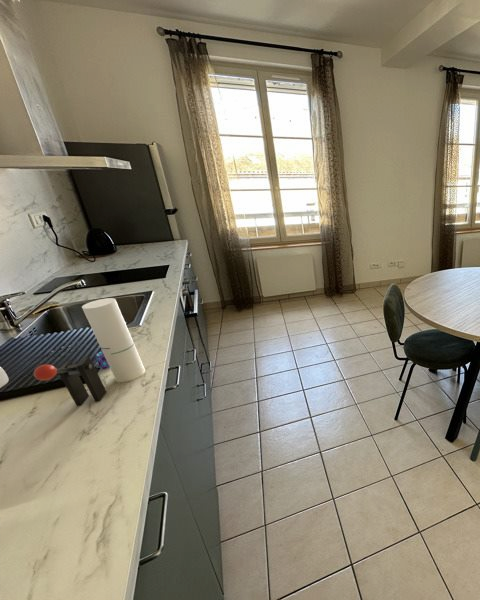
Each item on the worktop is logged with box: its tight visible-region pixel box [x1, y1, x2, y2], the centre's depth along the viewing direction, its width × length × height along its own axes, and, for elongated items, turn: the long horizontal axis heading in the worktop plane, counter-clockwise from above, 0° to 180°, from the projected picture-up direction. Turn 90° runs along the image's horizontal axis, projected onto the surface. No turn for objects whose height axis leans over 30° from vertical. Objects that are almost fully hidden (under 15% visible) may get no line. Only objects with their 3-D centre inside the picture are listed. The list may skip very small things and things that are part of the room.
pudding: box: [94, 350, 110, 370], centre depth 106 cm, size 12×12×5 cm
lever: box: [33, 363, 81, 382], centre depth 80 cm, size 14×4×4 cm, turn 19°
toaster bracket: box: [58, 356, 107, 408], centre depth 87 cm, size 12×9×13 cm
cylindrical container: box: [81, 297, 146, 383], centre depth 95 cm, size 7×7×25 cm
